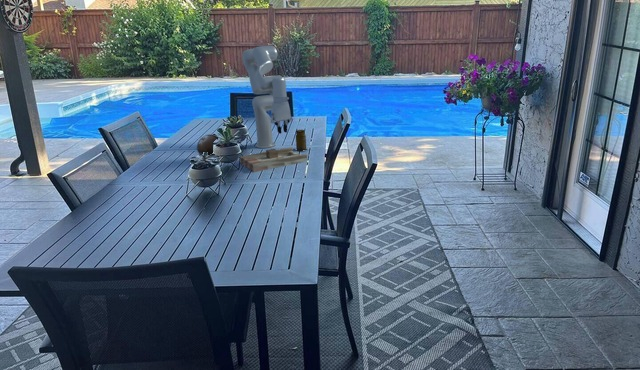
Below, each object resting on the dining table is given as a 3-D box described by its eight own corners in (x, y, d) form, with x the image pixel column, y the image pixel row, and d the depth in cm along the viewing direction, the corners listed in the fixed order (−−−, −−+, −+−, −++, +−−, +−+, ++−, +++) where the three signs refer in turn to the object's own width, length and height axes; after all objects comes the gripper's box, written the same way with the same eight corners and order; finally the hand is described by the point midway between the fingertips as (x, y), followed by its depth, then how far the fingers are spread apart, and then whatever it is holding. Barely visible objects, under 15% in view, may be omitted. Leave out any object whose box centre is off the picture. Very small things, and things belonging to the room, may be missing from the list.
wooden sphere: (193, 162, 279) (190, 137, 274) (210, 155, 291) (207, 131, 286) (213, 164, 272) (210, 138, 267) (230, 157, 284) (227, 132, 279)
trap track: (240, 163, 271) (239, 156, 270) (291, 153, 286) (291, 147, 284) (253, 172, 255) (253, 164, 253) (307, 161, 269) (307, 154, 268)
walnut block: (266, 156, 274) (265, 150, 273) (274, 155, 276) (274, 148, 275) (270, 158, 270) (269, 152, 269) (278, 157, 272) (277, 150, 271)
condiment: (302, 147, 298) (301, 128, 294) (311, 149, 292) (310, 130, 288) (293, 150, 294) (291, 130, 290) (301, 152, 288) (300, 132, 284)
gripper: (290, 97, 273) (292, 129, 279) (263, 101, 266) (266, 133, 272) (296, 99, 267) (298, 131, 273) (269, 102, 260) (272, 136, 266)
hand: (282, 132), depth 272 cm, fingers open, 2 cm apart
